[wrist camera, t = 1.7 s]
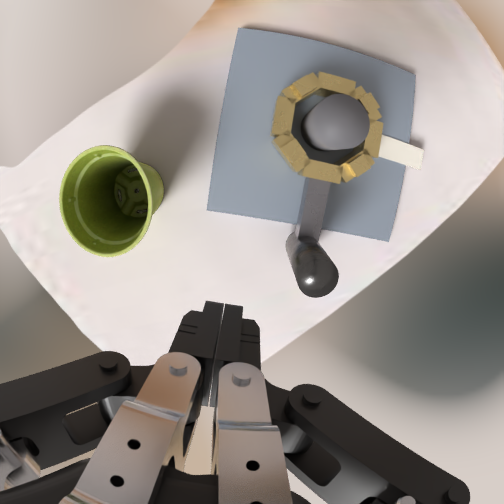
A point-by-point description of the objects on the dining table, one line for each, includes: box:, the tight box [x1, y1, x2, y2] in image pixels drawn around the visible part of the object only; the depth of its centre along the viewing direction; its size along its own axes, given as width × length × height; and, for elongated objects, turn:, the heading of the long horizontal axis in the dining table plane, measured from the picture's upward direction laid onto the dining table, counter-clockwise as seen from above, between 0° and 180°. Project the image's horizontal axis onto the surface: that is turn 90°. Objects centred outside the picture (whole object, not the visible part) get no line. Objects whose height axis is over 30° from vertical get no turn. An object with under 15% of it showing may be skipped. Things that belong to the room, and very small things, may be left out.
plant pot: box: [59, 145, 164, 257], centre depth 25 cm, size 9×9×9 cm
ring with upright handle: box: [270, 71, 383, 298], centre depth 22 cm, size 19×10×8 cm, turn 171°
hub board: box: [207, 28, 424, 242], centre depth 23 cm, size 20×22×8 cm
